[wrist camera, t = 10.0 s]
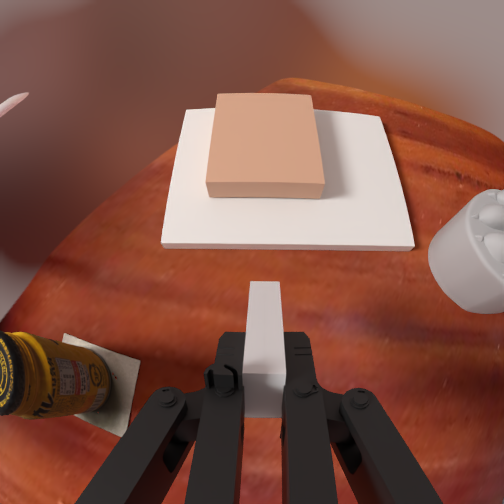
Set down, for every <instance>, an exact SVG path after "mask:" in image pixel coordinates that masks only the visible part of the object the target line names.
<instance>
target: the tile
mask: <svg viewBox="0 0 504 504" xmlns="http://www.w3.org/2000/svg"><path fill="white" fill-rule="evenodd" d="M205 183H206V187H207V191H208V195H209V197H272V198H313V199H320V197H321V194H322V191H323V188H324V185H325V180H324V173H323V165H322V158H321V152H320V145H319V139H318V133H317V127H316V121H315V115H314V110H313V104H312V99H311V95H299V94H275V93H233V94H232V93H231V94H218V95H217V101H216V108H215V114H214V121H213V128H212V135H211V142H210V150H209V157H208V165H207V173H206V181H205Z"/></svg>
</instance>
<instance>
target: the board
mask: <svg viewBox="0 0 504 504" xmlns="http://www.w3.org/2000/svg"><path fill="white" fill-rule="evenodd" d="M214 114H215V108H209V109H192V110H186V114H185V118H184V122H183V126H182V131H181V135H180V140H179V144H178V149H177V153H176V158H175V163H174V168H173V173H172V178H171V184H170V189H169V195H168V200H167V206H166V212H165V219H164V225H163V231H162V238H161V244H162V246H163V247H164V248H169V249H274V250H359V251H410V250H411V249H412V248H414V247H415V244H414V239H413V234H412V229H411V224H410V220H409V215H408V211H407V207H406V202H405V198H404V194H403V190H402V187H401V183H400V179H399V176H398V172H397V169H396V165H395V162H394V158H393V155H392V152H391V149H390V146H389V143H388V140H387V137H386V134H385V131H384V128H383V125H382V122H381V119H380V117H378V116H371V115H363V114H355V113H346V112H336V111H325V110H314V115H315V121H316V127H317V133H318V139H319V145H320V152H321V158H322V165H323V173H324V180H325V185H324V188H323V191H322V194H321V197H320V199H313V198H272V197H209V195H208V191H207V187H206V183H205V181H206V173H207V165H208V157H209V150H210V142H211V135H212V128H213V121H214Z"/></svg>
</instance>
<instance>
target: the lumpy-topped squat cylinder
mask: <svg viewBox="0 0 504 504" xmlns="http://www.w3.org/2000/svg"><path fill="white" fill-rule="evenodd" d="M428 260H429V265H430V269H431V271H432V273H433V275H434V277H435V279H436V281H437V283H438V284H439V286H440V287H441V289H442V290H443V291H444V292H445V293H446V295H447V296H449V297H450V298H451V299H452V300H453V301H454V302H455V303H456V304H458V305H459V306H460V307H461V308H463V309H464V310H466V311H469V312H474V313H481V314H493V313H501V312H504V190H502V191H501V190H497V189H490V190H486V191H484V192H482V193H480V194H478V195H476V196H475V197H474V198H473V199H472V200H471V201H469V202H468V203H467V204H466V205H465V206H464V207H463V208H462V209H461V210H460V211H459V212H458V213H457V214H456V215H455V216H454V217H453V218H452V219H451V220H450V221H449V222H448V223H447V224H446V225H445V226H443V227H442V228H441V229H440V230H439V231H438V232H437V233H436V235H435V236H434V238H433V239H432V241H431V243H430V246H429V250H428Z"/></svg>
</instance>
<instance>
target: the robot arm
mask: <svg viewBox="0 0 504 504" xmlns="http://www.w3.org/2000/svg"><path fill="white" fill-rule="evenodd" d="M204 379H205V385H206V387H205V388H203V389H201V390H199V391H196V392H191V393H185V394H183V392H182V391H181V390H179V389H177V388H175V387H163V388H160V389H158V390H156V391H155V392H154V393H153V394H152V395H151V396H150V398H149V399H148V401H147V402H146V403H145V405H144V406H143V408H142V409H141V411H140V412H139V413H138V415H137V416H136V418H135V419H134V420H133V422H132V423H131V425H130V426H129V428H128V429H127V430H126V432H125V433H124V435H123V436H122V437H121V439H120V440H119V442H118V443H117V445H116V446H115V447H114V449H113V450H112V452H111V453H110V454H109V456H108V457H107V459H106V460H105V461H104V463H103V464H102V466H101V467H100V469H99V470H98V471H97V473H96V474H95V476H94V477H93V478H92V480H91V481H90V483H89V484H88V486H87V487H86V488H85V490H84V491H83V493H82V494H81V495H80V497H79V498H78V500H77V501H76V503H75V504H161V503H162V502H163V500H164V498H165V496H166V494H167V492H168V491H169V489H170V487H171V485H172V483H173V481H174V480H175V478H176V476H177V474H178V472H179V470H180V468H181V466H182V465H183V463H184V461H185V459H186V457H187V455H188V453H189V451H190V449H191V447H192V446H193V444H194V442H195V441H196V443H195V449H194V454H193V459H192V465H191V470H190V476H189V481H188V487H187V492H186V498H185V504H239V499H240V484H241V470H242V455H243V441H244V417H251V418H282V426H281V434H280V438H281V446H282V504H338V500H337V492H336V484H335V476H334V468H333V461H332V453H331V446H332V448H333V450H334V452H335V454H336V456H337V459H338V461H339V463H340V465H341V467H342V469H343V472H344V474H345V476H346V478H347V480H348V482H349V484H350V487H351V489H352V491H353V493H354V495H355V497H356V499H357V501H358V504H443V503H442V501H441V499H440V498H439V496H438V494H437V493H436V491H435V490H434V488H433V486H432V485H431V483H430V481H429V480H428V478H427V477H426V475H425V473H424V472H423V470H422V468H421V467H420V465H419V464H418V462H417V460H416V459H415V457H414V456H413V454H412V453H411V451H410V449H409V448H408V446H407V445H406V443H405V441H404V440H403V438H402V437H401V435H400V434H399V432H398V430H397V429H396V427H395V426H394V424H393V423H392V421H391V420H390V418H389V416H388V415H387V413H386V412H385V410H384V409H383V407H382V406H381V404H380V403H379V401H378V400H377V398H376V396H375V395H374V394H373V393H372V392H370V391H368V390H366V389H362V388H354V389H351V390H349V391H347V392H346V393H345V394H344V395H342V394H337V393H333V392H329V391H327V390H325V389H323V388H322V387H321V386H320V385H319V383H318V382H317V379H316V373H315V367H314V361H313V356H312V350H311V344H310V339H309V338H308V336H307V335H306V334H305V333H304V332H283V321H282V308H281V296H280V283H279V282H261V281H250V293H249V304H248V315H247V326H246V332H225V333H224V334H223V335H222V336H221V337H220V339H219V343H218V349H217V353H216V358H215V363H214V364H212V365H210V366H209V367H208V368H206V370H205V372H204ZM330 443H331V446H330Z"/></svg>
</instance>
